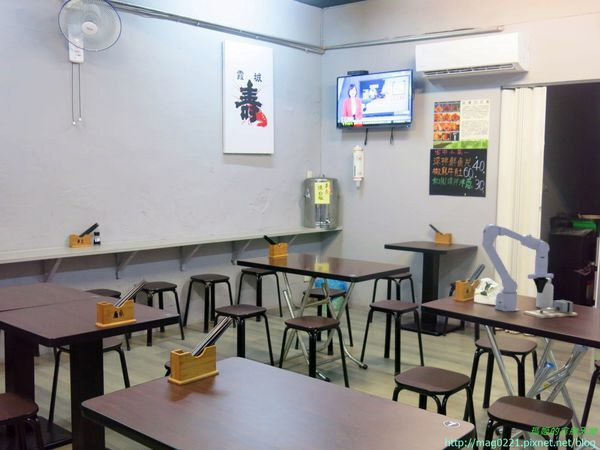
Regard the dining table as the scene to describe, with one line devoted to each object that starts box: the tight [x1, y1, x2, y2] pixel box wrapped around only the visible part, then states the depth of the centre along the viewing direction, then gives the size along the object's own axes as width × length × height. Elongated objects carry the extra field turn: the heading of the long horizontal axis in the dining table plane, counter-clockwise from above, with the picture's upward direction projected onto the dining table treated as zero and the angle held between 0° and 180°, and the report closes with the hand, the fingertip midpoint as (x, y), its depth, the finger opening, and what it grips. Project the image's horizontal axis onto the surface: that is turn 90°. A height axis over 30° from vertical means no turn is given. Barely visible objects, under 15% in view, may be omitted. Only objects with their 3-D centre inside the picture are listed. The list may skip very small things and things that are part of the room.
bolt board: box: [523, 299, 578, 319], centre depth 300 cm, size 23×11×6 cm, turn 112°
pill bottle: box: [535, 278, 554, 309], centre depth 317 cm, size 8×8×15 cm
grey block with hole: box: [552, 299, 568, 313], centre depth 302 cm, size 3×6×5 cm, turn 22°
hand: (539, 292), depth 306 cm, fingers closed
